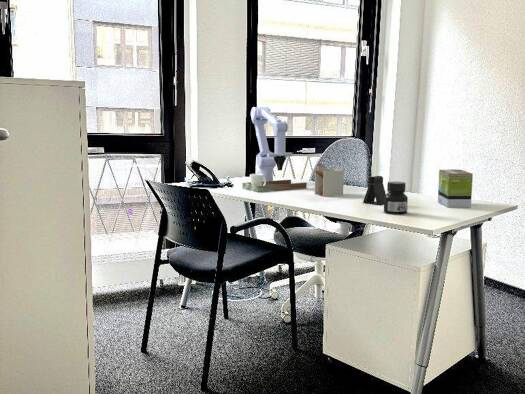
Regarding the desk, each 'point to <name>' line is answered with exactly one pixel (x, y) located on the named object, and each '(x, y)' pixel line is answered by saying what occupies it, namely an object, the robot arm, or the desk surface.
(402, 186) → the ink bottle
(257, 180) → the cup
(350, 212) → the desk surface
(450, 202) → the tea box
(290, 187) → the trap box
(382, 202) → the black binoculars
